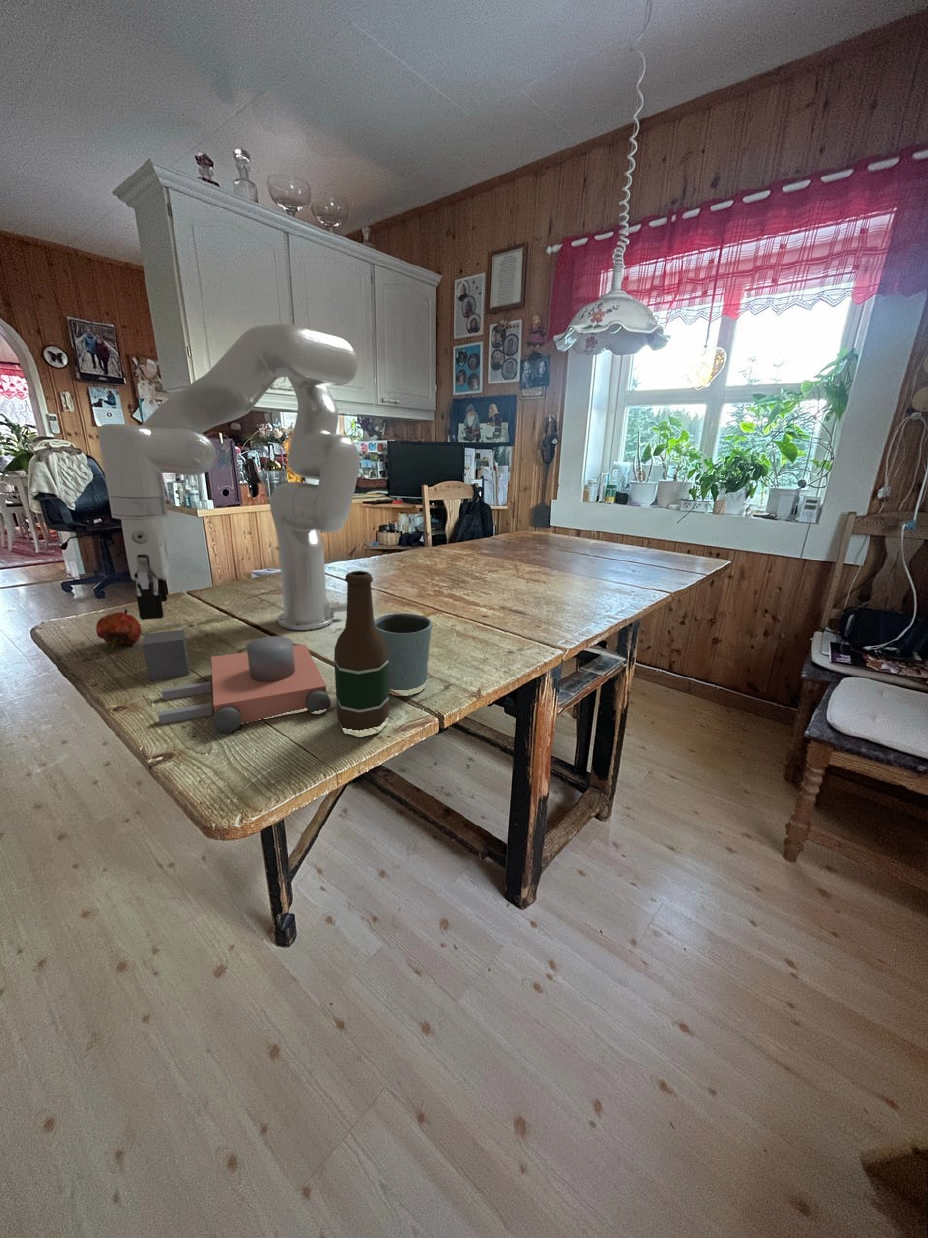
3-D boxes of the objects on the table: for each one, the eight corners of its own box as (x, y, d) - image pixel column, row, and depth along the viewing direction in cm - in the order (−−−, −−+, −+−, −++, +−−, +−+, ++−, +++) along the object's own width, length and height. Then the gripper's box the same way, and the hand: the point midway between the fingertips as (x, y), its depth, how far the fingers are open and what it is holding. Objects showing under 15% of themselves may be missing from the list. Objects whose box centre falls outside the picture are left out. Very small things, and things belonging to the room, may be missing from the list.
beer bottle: (341, 711, 78) (334, 565, 69) (390, 711, 78) (389, 566, 70) (333, 739, 70) (324, 580, 62) (387, 739, 71) (385, 581, 63)
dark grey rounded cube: (189, 664, 91) (183, 629, 88) (189, 675, 87) (183, 639, 84) (152, 669, 88) (145, 633, 86) (149, 681, 84) (142, 644, 82)
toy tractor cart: (306, 659, 95) (303, 616, 92) (331, 712, 77) (328, 661, 74) (165, 680, 84) (157, 632, 81) (156, 747, 67) (145, 689, 64)
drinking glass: (387, 704, 81) (387, 637, 76) (365, 678, 88) (363, 617, 84) (440, 690, 86) (443, 627, 82) (415, 668, 94) (415, 609, 90)
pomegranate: (137, 662, 95) (158, 619, 101) (110, 643, 89) (133, 599, 95) (104, 662, 96) (126, 620, 102) (75, 644, 90) (100, 600, 96)
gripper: (163, 514, 72) (178, 623, 77) (169, 501, 86) (181, 594, 92) (101, 514, 68) (121, 628, 74) (118, 501, 83) (134, 597, 88)
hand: (154, 609), depth 83 cm, fingers open, 9 cm apart
